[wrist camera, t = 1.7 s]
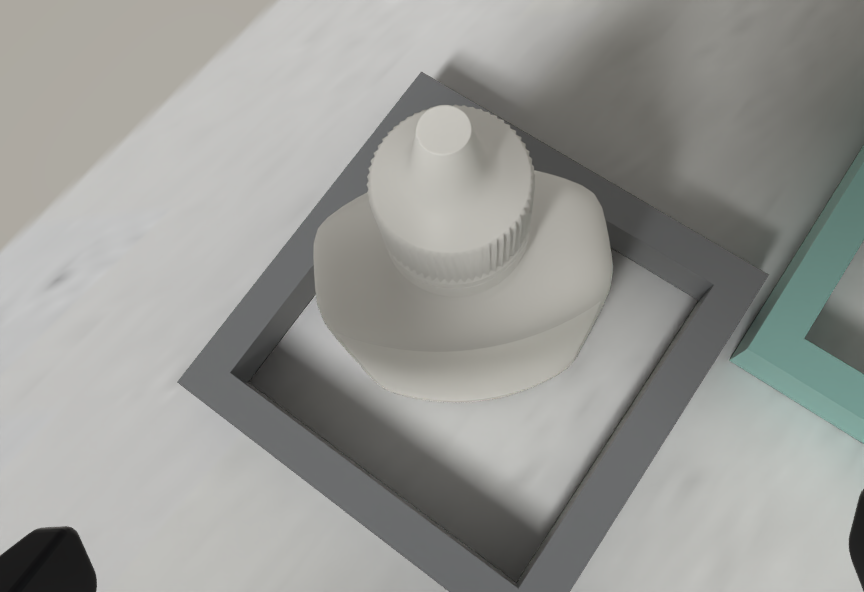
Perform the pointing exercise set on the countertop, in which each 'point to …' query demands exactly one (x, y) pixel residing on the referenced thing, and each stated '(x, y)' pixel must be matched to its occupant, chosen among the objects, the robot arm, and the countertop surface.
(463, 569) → the upper socket
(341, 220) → the eye dropper bottle
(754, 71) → the countertop surface
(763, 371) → the lower socket
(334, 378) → the countertop surface
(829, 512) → the countertop surface
